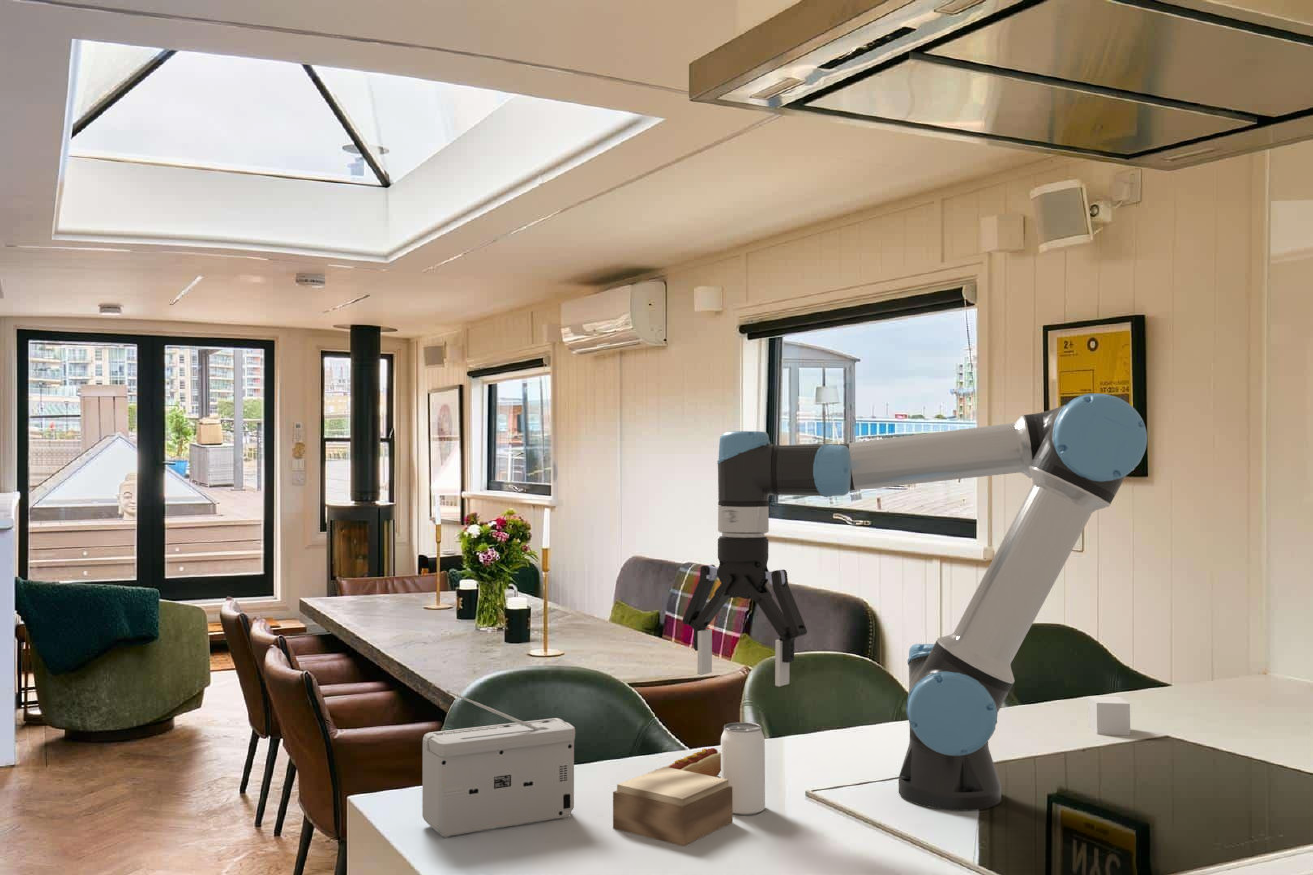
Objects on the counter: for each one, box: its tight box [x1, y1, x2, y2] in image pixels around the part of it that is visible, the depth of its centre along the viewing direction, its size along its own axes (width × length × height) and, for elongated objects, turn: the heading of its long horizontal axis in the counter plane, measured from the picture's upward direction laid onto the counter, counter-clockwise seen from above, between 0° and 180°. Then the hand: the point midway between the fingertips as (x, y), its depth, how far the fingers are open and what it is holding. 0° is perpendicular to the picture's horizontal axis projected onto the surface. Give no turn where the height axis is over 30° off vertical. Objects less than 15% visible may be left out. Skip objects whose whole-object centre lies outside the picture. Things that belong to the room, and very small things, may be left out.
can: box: [720, 721, 766, 816], centre depth 156 cm, size 6×6×12 cm
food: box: [665, 747, 721, 777], centre depth 169 cm, size 14×6×5 cm, turn 147°
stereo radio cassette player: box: [421, 689, 576, 839], centre depth 151 cm, size 21×8×20 cm, turn 117°
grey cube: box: [1087, 695, 1131, 736], centre depth 203 cm, size 6×6×6 cm
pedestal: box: [612, 766, 734, 847], centre depth 149 cm, size 12×12×6 cm
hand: (742, 679), depth 157 cm, fingers open, 13 cm apart
